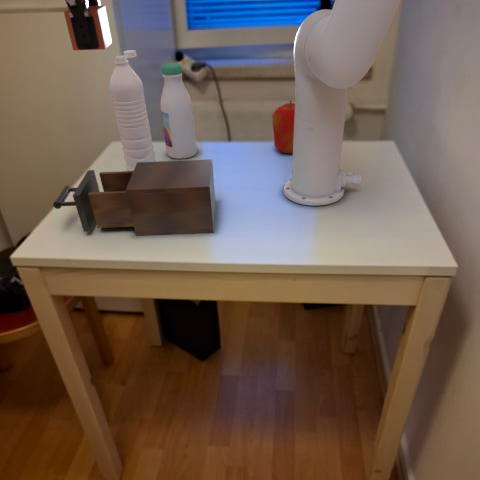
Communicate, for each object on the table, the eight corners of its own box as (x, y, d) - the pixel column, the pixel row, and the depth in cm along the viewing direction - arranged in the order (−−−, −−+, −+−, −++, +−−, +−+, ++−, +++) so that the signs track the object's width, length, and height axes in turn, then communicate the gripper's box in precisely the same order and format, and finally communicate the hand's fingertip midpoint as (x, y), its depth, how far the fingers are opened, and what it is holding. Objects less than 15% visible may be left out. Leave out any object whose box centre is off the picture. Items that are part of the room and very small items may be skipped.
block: (112, 43, 70) (105, 5, 67) (105, 49, 66) (97, 9, 63) (81, 44, 70) (73, 6, 67) (73, 50, 67) (63, 10, 63)
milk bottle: (200, 148, 113) (191, 60, 100) (193, 159, 108) (183, 68, 94) (171, 147, 114) (159, 61, 101) (163, 159, 109) (149, 68, 95)
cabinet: (135, 235, 81) (125, 189, 75) (145, 205, 90) (137, 162, 84) (213, 232, 81) (209, 186, 75) (215, 202, 90) (212, 159, 84)
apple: (272, 144, 114) (273, 95, 106) (305, 144, 113) (308, 94, 105) (270, 157, 107) (271, 105, 99) (305, 157, 106) (308, 105, 98)
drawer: (57, 232, 82) (44, 196, 77) (73, 205, 90) (62, 171, 85) (155, 229, 81) (148, 192, 76) (162, 202, 89) (156, 167, 84)
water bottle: (152, 189, 96) (128, 59, 80) (125, 187, 98) (96, 59, 81) (166, 172, 102) (147, 49, 86) (140, 171, 104) (117, 49, 87)
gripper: (67, -128, 50) (104, 55, 62) (101, -115, 62) (127, 34, 75) (2, -125, 50) (52, 57, 62) (50, -113, 63) (84, 36, 75)
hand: (93, 43), depth 68 cm, fingers closed on block, 5 cm apart
